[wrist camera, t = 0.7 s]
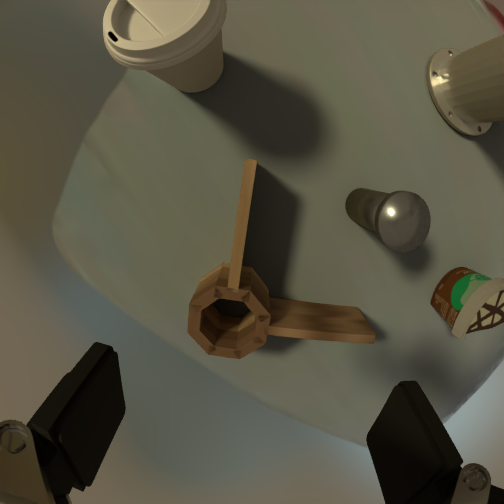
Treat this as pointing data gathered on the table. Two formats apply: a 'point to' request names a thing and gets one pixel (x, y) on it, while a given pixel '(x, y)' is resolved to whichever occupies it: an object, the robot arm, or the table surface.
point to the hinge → (261, 303)
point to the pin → (391, 217)
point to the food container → (469, 301)
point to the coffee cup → (168, 39)
